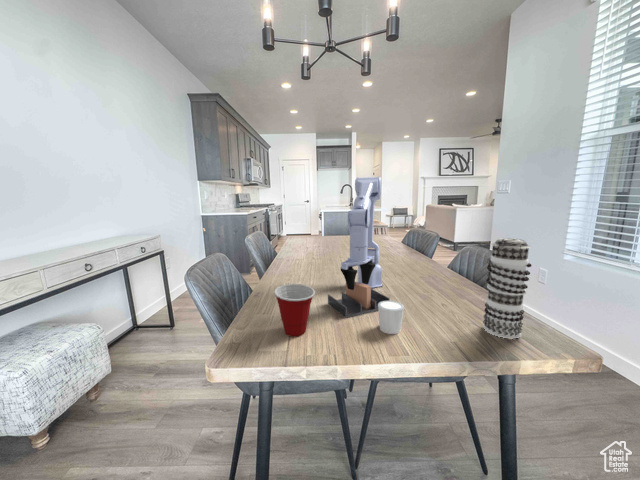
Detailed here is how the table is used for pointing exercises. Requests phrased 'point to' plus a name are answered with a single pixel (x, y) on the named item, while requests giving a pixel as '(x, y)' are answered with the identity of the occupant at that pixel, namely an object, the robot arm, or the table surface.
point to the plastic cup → (294, 307)
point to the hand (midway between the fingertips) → (358, 286)
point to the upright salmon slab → (360, 294)
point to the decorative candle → (506, 287)
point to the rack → (355, 304)
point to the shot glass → (390, 316)
